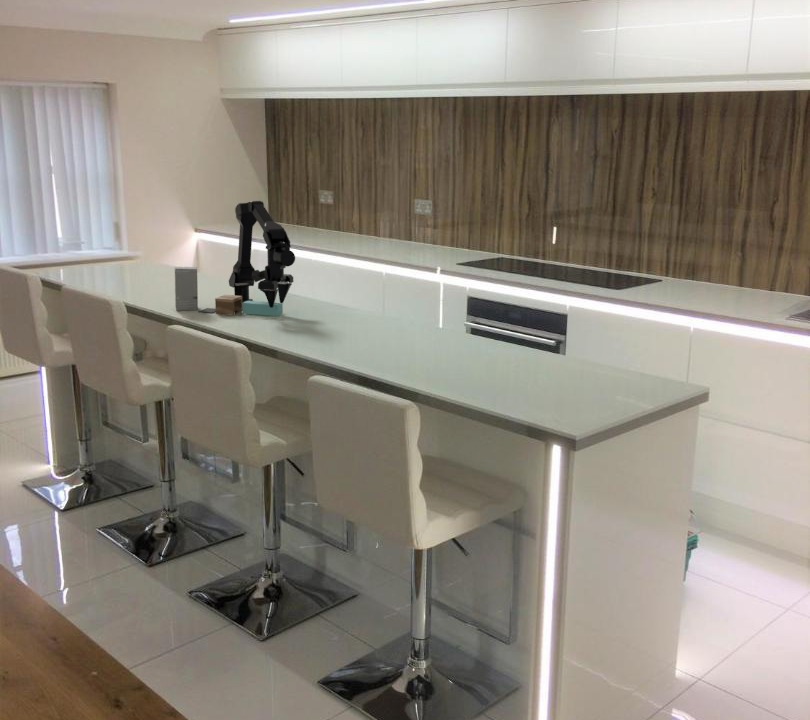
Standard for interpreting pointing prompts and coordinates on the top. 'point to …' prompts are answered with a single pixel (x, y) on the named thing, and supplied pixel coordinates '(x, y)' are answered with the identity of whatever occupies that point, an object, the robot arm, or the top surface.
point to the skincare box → (186, 288)
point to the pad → (262, 316)
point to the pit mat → (208, 310)
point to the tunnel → (228, 304)
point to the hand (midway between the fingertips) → (276, 305)
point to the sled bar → (262, 308)
